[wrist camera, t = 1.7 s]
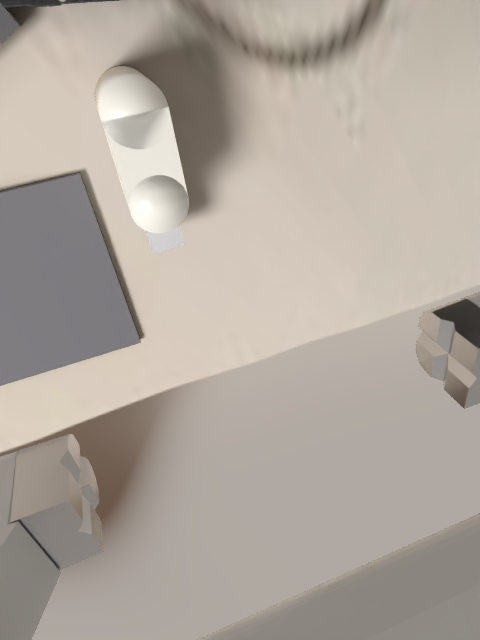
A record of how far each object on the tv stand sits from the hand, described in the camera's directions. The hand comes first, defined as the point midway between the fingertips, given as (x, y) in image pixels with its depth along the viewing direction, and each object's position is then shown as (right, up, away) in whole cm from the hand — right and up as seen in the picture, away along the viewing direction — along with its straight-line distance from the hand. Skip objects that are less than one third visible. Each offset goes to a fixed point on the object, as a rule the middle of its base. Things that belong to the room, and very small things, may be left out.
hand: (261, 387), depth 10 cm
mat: (-15, +4, +22) cm, 27 cm away
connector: (-7, +12, +19) cm, 24 cm away
